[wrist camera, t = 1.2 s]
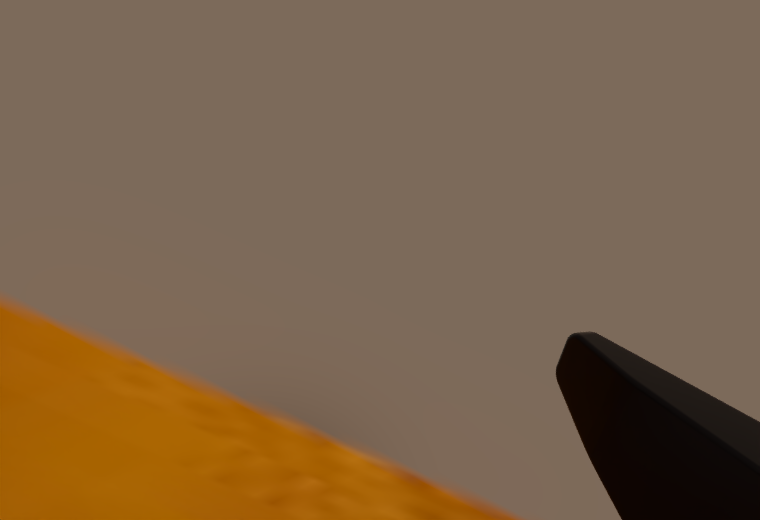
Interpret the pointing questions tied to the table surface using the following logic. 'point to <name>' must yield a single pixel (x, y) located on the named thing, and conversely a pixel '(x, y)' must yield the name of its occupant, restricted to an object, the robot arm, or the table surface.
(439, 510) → the table surface
